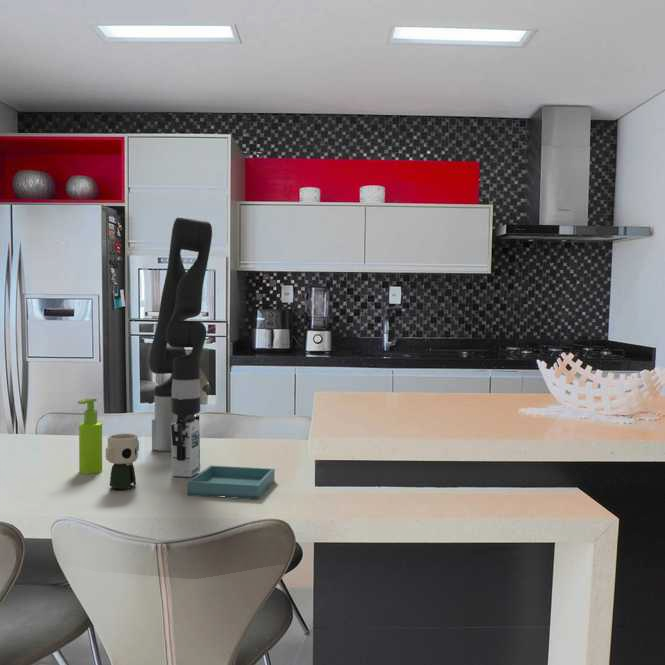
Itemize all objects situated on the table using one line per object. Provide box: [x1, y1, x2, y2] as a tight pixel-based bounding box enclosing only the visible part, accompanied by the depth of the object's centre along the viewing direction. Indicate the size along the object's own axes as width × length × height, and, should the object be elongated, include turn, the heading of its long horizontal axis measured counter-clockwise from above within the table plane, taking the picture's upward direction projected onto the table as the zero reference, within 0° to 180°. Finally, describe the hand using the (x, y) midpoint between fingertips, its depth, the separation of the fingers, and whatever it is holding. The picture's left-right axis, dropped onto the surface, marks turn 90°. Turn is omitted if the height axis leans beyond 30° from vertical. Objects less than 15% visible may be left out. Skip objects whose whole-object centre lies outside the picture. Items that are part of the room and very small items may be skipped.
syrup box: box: [171, 419, 201, 478], centre depth 168 cm, size 6×6×14 cm
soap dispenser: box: [77, 398, 103, 475], centre depth 170 cm, size 6×7×20 cm
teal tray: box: [187, 464, 276, 500], centre depth 157 cm, size 18×16×3 cm
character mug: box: [105, 433, 140, 490], centre depth 156 cm, size 11×7×13 cm, turn 155°
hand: (185, 457), depth 169 cm, fingers closed on syrup box, 5 cm apart
